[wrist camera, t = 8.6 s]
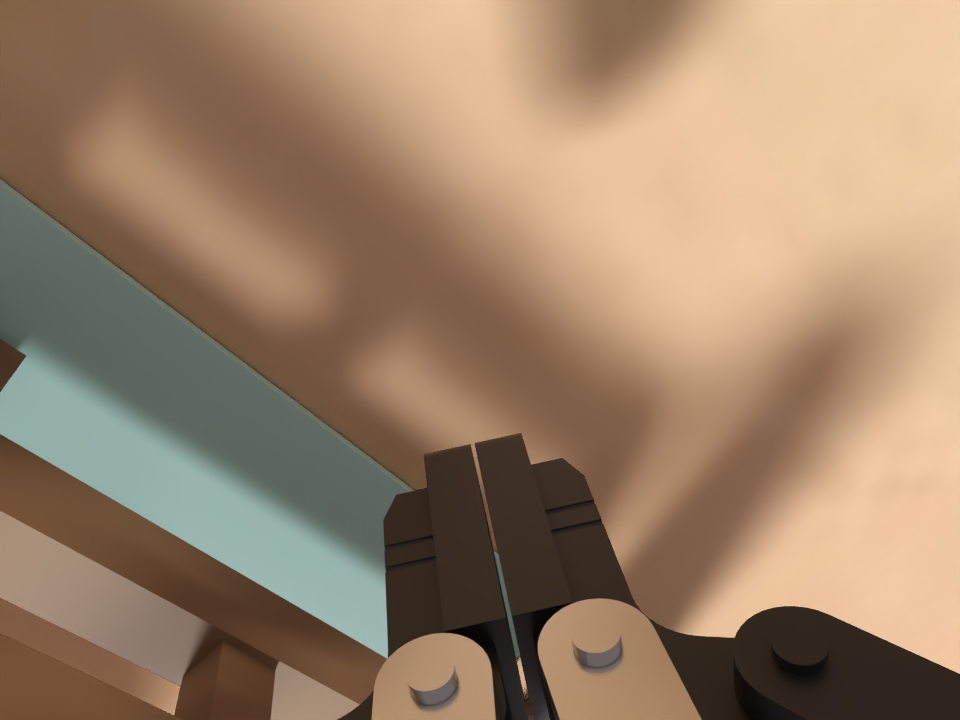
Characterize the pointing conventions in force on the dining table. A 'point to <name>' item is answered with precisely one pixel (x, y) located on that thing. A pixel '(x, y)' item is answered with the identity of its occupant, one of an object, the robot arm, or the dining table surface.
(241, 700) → the gate
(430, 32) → the dining table surface
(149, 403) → the open mat
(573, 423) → the dining table surface
